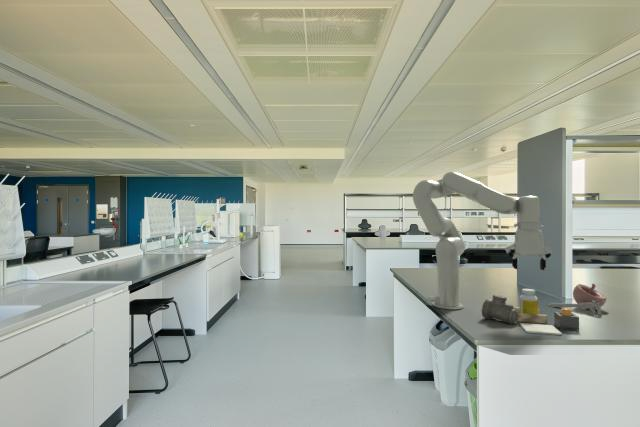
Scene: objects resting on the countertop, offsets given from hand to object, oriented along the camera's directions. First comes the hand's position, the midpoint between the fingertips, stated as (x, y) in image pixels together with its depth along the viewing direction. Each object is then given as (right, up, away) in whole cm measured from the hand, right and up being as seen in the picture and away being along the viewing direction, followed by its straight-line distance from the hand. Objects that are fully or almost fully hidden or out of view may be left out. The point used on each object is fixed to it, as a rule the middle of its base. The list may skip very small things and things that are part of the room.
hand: (528, 269), depth 147 cm
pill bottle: (0, -20, 0) cm, 20 cm away
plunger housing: (+7, -20, -12) cm, 24 cm away
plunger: (+7, -18, -12) cm, 23 cm away
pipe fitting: (-13, -20, -3) cm, 24 cm away
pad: (-4, -20, -14) cm, 25 cm away
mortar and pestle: (+36, -20, +15) cm, 44 cm away
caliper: (+27, -21, +13) cm, 36 cm away
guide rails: (0, -20, 0) cm, 20 cm away
